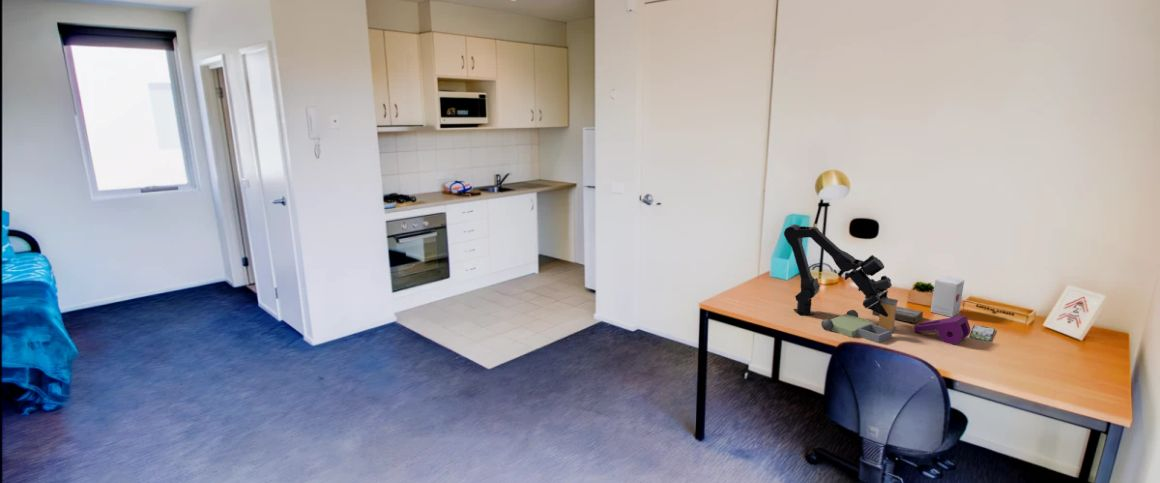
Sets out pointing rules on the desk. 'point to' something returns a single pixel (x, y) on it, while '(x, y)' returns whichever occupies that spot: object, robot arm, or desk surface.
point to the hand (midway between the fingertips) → (889, 312)
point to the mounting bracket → (947, 328)
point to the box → (906, 314)
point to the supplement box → (947, 296)
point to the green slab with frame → (856, 327)
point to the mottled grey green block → (982, 333)
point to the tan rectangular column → (891, 311)
